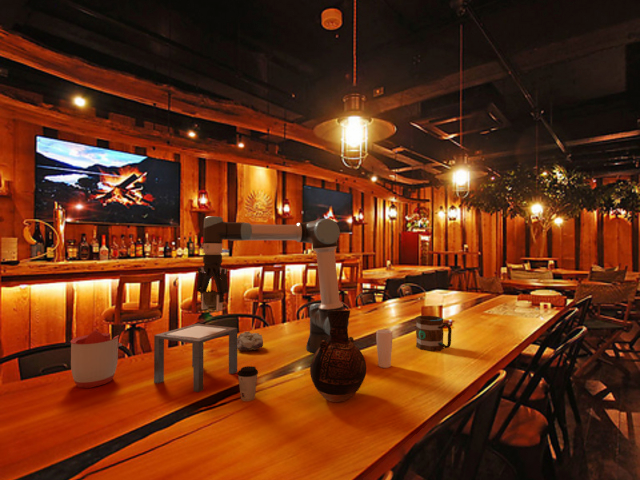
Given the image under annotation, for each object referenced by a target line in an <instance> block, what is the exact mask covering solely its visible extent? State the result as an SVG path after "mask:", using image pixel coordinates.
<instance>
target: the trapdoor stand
mask: <svg viewBox="0 0 640 480" xmlns="http://www.w3.org/2000/svg"><path fill="white" fill-rule="evenodd" d="M194 326H204V327H213V328H222V329H227V330H224V331H221V332H218V333H215V334H212V335H209V336H206V337H203V338H200V339H193V338H186V337H178V336H171V335H166V334H169V333H172V332H176V331H179V330H183V329H187V328H190V327H194ZM227 335H228V374H231V375H232V374H233V375H234V374H237V373H238V349H237V338H238V328H237V327H231V326H221V325H213V324H212V325H211V324H203V323H194V324H190V325H188V326H187V325H186V326H183V327H180V328H176V329H172V330H169V331H165V332H162V333H157V334H154V337H153V339H154V341H153V342H154V343H153V345H154V346H153V348H154V349H153V351H154V352H153V353H154V354H153V358H154V359H153V362H154V363H153V383H154V384H158V385H159V384H162V383H164V382H165V370H164V369H165V341H166V340H168V341H174V342H181V343H182V342H183V343H187V344H188V343H189V344H192V346H191V347H192V349H191V350H192V354H191V355H192V357H191V358H192V359H191V360H192V361H191V363H192V365H191V366H192V367H193V370H192V371H193V376H192V377H193V378H192V379H193V382H192V383H193V392H196V393H200V392H202V391H204V343H205V342H208V341H212V340H215V339H218V338H220V337H223V336H227Z"/></svg>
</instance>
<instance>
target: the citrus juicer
mask: <svg viewBox="0 0 640 480" xmlns="http://www.w3.org/2000/svg"><path fill="white" fill-rule="evenodd" d="M111 337H112V335H111V333H110V332H108V333H105V332H103V333H102V332H100V331H99V330H97V329H94V330H93V331H92V332H91V333H90V334H86V335H81V336H77V337H74V338H72V339H71V340H70V369H71V370H70V371H71V375H72V379H73V382H74V383H75V385H76V387H78V388H87V389H91V388H95V387H98V386H102V385H105V384H107V383H110V382H111V381H112V380H113V378H114V376H115V373H116V370H117V367H118V366H117V365H118V360H119V359H118V358H119V357H118V355H119V347H122V346H123V343H121V342H119V338H120V336H119V334H118V335H116V336H114V337H113V338H111Z"/></svg>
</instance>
